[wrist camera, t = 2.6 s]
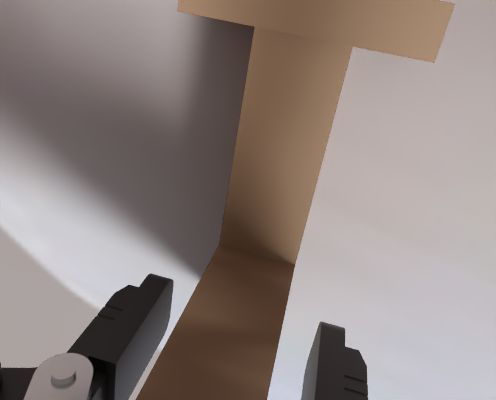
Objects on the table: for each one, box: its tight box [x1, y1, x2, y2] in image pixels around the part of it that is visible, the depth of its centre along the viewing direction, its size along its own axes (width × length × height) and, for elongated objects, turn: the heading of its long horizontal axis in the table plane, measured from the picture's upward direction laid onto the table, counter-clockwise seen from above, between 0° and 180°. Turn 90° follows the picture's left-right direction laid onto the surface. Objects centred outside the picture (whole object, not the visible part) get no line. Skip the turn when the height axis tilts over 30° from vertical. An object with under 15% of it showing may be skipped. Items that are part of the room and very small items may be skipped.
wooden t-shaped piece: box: [136, 0, 455, 400], centre depth 11 cm, size 6×12×9 cm, turn 170°
